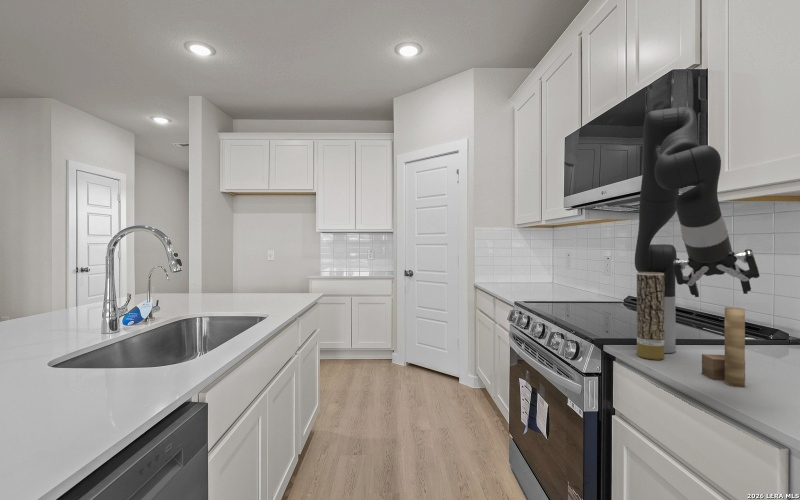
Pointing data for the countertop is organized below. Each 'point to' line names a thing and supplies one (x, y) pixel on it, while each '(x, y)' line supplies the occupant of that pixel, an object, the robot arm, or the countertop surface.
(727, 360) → the dowel
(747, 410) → the countertop surface
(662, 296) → the brown bark cylinder
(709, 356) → the wooden block
